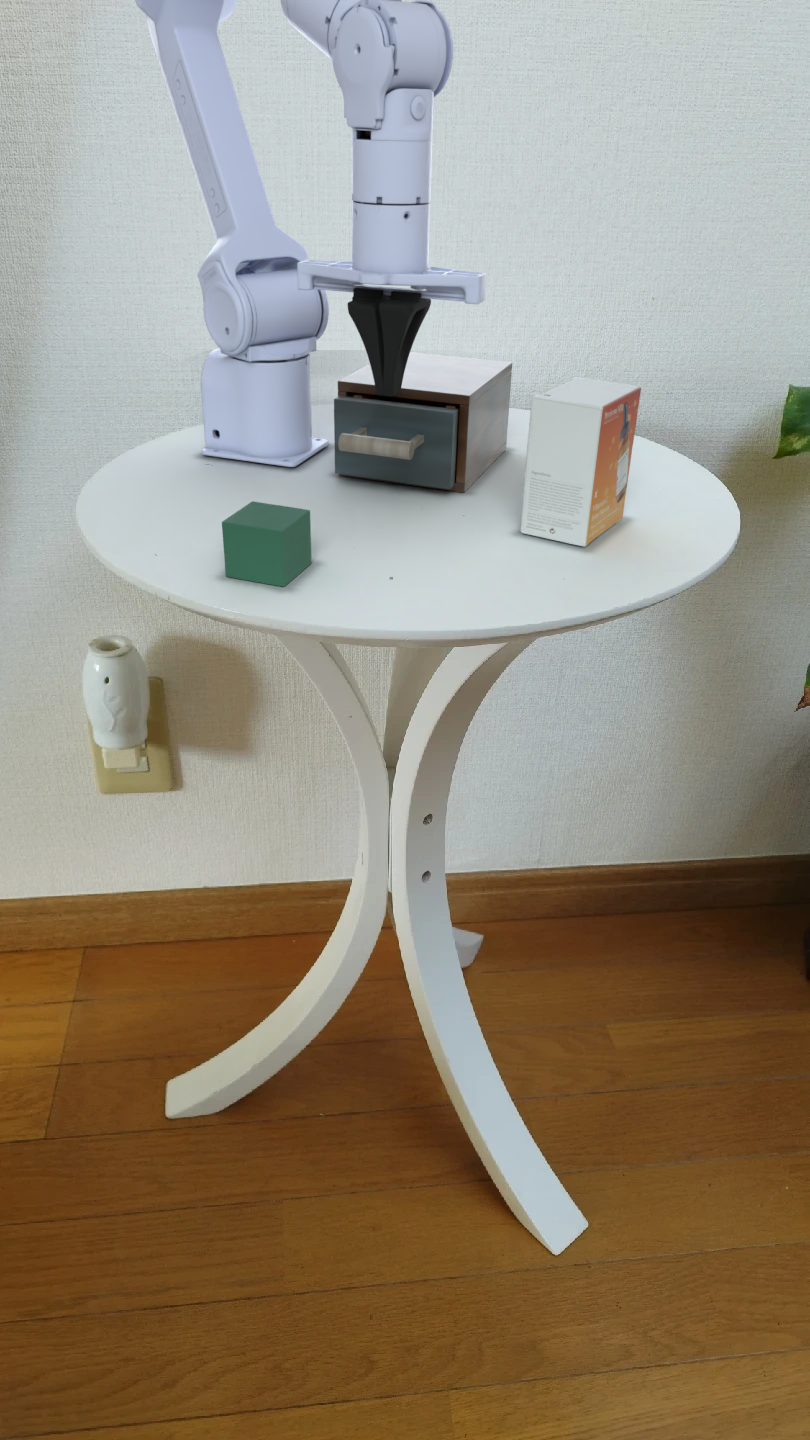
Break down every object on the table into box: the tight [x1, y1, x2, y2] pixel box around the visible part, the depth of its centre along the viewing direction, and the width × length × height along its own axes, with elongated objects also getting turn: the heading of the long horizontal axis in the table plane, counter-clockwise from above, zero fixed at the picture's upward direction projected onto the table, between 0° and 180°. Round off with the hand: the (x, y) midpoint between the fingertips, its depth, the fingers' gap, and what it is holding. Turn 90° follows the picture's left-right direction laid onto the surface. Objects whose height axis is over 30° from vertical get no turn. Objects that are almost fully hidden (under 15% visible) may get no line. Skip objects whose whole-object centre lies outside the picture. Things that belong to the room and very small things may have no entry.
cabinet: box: [337, 351, 513, 493], centre depth 91 cm, size 14×12×8 cm
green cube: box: [221, 501, 312, 587], centre depth 70 cm, size 4×4×4 cm
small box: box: [519, 376, 642, 548], centre depth 77 cm, size 8×6×10 cm
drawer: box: [333, 393, 460, 489], centre depth 87 cm, size 17×10×6 cm, turn 160°
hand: (388, 393), depth 81 cm, fingers closed
